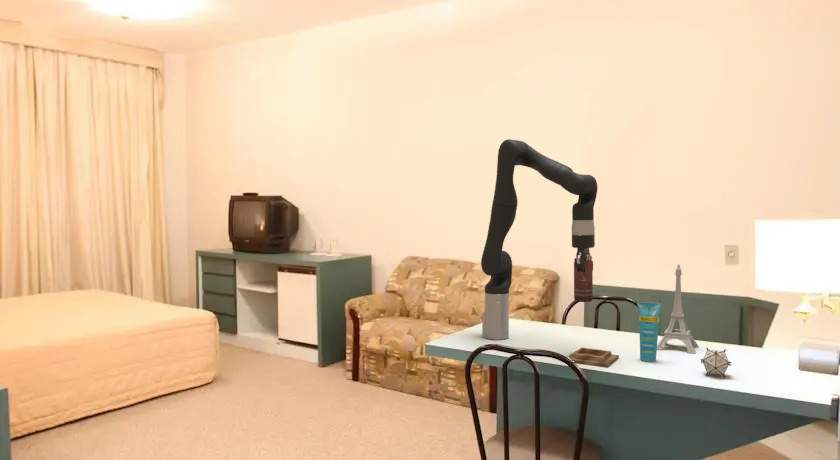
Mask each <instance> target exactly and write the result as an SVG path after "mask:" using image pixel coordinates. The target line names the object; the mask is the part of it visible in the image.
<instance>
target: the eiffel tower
mask: <svg viewBox="0 0 840 460" xmlns="http://www.w3.org/2000/svg"><path fill="white" fill-rule="evenodd" d="M682 274H683V273H682V268H681V265H680V264H677V267H676V268H675V273H674V275H675V291H674V300H673V308H672V312H671V314H670V317H671V318H670V322H669V324H668V327H667V328H666V329H665V331H664V332H663V334H664V335H663V337H662V338H661V339H660V341H659V343H657V351H662V352H663V351H664V346H665V345H667V344H668V342H669V341H672V340H678V341H680V342H682V343H683V344H684V345H685V348H686V349H687V350H686V351H687V352H686V353H687V354H689V355H690V354H691V355H696V354H697V351H696V350H695V349H699V348H700V345H699V344H698V343H697V341H696V340H695V339H694V337H693V336H692V334H691V330H689V329H688V326H687V324H686V321H685V313H684V312H683V310H684V309H683V303H682V281H681V280H682V279H681V277H682ZM677 321H678V324H679V329H678V328H677V329H676V328H675V326H676V325H675V324H676V322H677Z"/></svg>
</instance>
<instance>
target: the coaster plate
mask: <svg viewBox="0 0 840 460" xmlns="http://www.w3.org/2000/svg"><path fill="white" fill-rule="evenodd" d="M567 357H569V358H570V359H571V360H572V361H574V362H575V363H574V364H578V365H586V366H593V367H594V366H595V367H602V368H606V369H607V368H609V367H611V365H612V364H614V363H615V362H616V361H617V360H618V359H620V355H619V354H612V351H611V350H606V349H605V350H604V349H596V348H589V347H588V348H587V347H580V348H579V349H577V350H575V351H574V352H572V353H571V354H569V355H568V356H567Z"/></svg>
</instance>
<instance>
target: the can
mask: <svg viewBox="0 0 840 460" xmlns="http://www.w3.org/2000/svg"><path fill="white" fill-rule="evenodd" d="M583 263H584V267H585V273H584V272H577V269H576V265H575V261H573V300H574V301H575V302H576V303H591V302H593V300H594V299H593V298H594V295H593V294H594V292H593V291H594V290H593V288H594V287H593V286H594V285H593V284H594V283H593V282H594V281H593V276H594V275H593V273H594V261H593V259H592V260H588V261H584V262H583ZM579 269H582V268H579Z"/></svg>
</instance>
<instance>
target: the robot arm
mask: <svg viewBox="0 0 840 460" xmlns="http://www.w3.org/2000/svg"><path fill="white" fill-rule="evenodd" d="M496 164H497V165H496V178H495V187H494V193H493V198H492V199H493V200H492V204H491V211H490V219H489V223H488V230H487V235H486V240H485V245H484V248H483V251H482V256H481V259H480V264H481V265H480V266H481V270H482V271H483V273H484V274H485V275H486V276H489V277H490V278H489V281H488V282H487V283H485V285H484V311H483V312H482V318H481V319H482V320H481V321H482V329H481V331H482V336H481V338H485V339H488V340H498V341H499V340H501V341H502V340H508V339H509V337H510V335H509V331H510V329H509V328H510V317H509V316H510V287H511V286H512V277H513V261H512V257H511V255H510V254H509V252H507V251H505V250H503V246H504V242H505V240H506V237H507V236H508V233H509V232H510V230H511V227H512V226H513V224H514V222H515V219H516V215H517V208H518V202H519V201H518V196H517V192H516V191H517V190H516V189H515V184H514V172H515V167H516V166H522V167H527V168H530V169H533V170H535V171H536V172H538V173H539V174H540V175H541V176H542V177H544V178H545V179H546V180H548V181H550V182H553V183H555V184H556V185H558V186H560V187H561V188H563V189H564V190H565V191H567V192H568V193H570V194H572V195H574V196H578V198H577V199H578V200H577V202H575V203H574V204H573V205H572V210H571V211H572V215H571V218H572V224H571V247H572V248H573V249H576V254H575V258H574V261H575V265H576V269H577V272H584V273H585V267H584V263H583V262H584V261H588V260H592V261H593V256H592V255H591V252H590V249H592V248H593V249H594V248H595V245H596V242H595V241H596V240H595V236H596V235H595V233H596V232H595V229H596V227H595V220H594V217H595V216H594V207H595V204H596V200H597V195H598V182H597V179H596V178H595V177H594V176H593V175H591V174H580V173H577V172H574V171H573V169H572V168H571V167H569V166H568V165H566V164H563V163H561V162H559V161H558V160H555V159H553V158H550V157H548V156H546V155H544V154H542V153H541V152H539V151H538V150H536V149H535V148H533V147H532V146H531V145H529V144H527V142H525V141H523V140H519V139H511V138H509V139H505V140H503V141H502V142H501V144H500V145H499V147H498V152H497V163H496ZM574 261H573V262H574ZM579 268H582V269H579Z"/></svg>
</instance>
